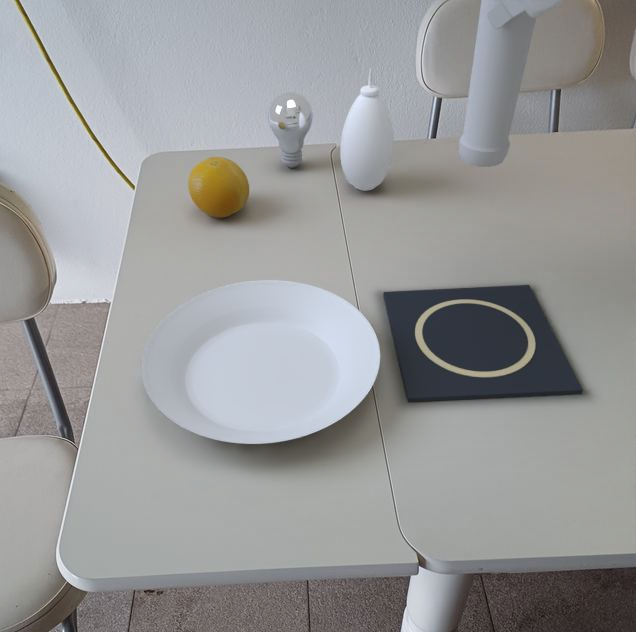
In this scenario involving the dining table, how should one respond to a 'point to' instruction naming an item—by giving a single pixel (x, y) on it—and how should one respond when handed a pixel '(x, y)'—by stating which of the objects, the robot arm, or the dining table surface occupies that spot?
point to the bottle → (494, 87)
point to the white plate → (260, 361)
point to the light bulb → (290, 125)
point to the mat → (476, 344)
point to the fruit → (218, 187)
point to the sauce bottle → (367, 140)
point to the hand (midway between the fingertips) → (502, 11)
